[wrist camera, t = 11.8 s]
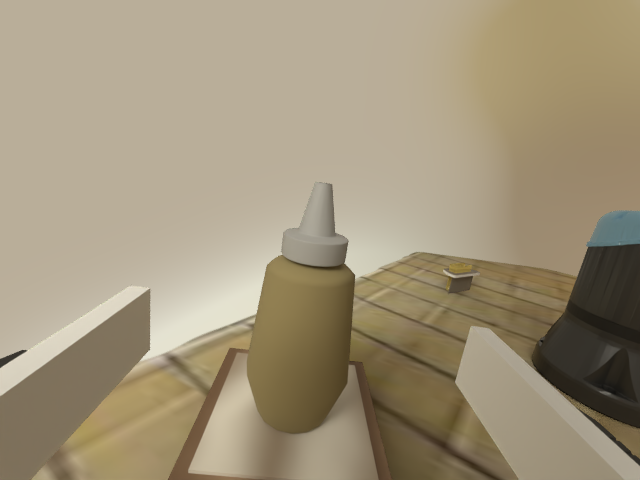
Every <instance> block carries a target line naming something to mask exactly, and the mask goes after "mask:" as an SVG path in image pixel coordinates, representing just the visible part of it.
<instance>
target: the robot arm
mask: <svg viewBox="0 0 640 480" xmlns="http://www.w3.org/2000/svg"><path fill="white" fill-rule="evenodd" d="M586 246H588V249H587V252H586V255H585V258H584V260H583V263H582V266H581V269H580V271H579V274H578V277H577V279H576V282H575V285H574V287H573V290H572V293H571V296H570V299H569V301H568V304H567V307H566V309H565V312H564V313H563V315H562V316H561V317H560V318H559V319H558V320H557V321H556V322H555V324H554V325H553V326H552V327H551V328H550V330H549V331H548V332H547V334H546V335H545V336H544V337H542V338H541V339H540V340H539V341H538V342H537V344H536V347H535V350H534V353H533V355H532V360H533V363H534V365H535V366H536V368H537V369H538V370H539V371H540V373H541V374H542V375H543V376H544V377H546V378H547V379H548V380H549V381H550V382H551V383H553V384H554V385H555V386H557V387H558V388H559V389H561V390H562V391H564V392H565V393H567V394H568V395H570V396H571V397H573V398H575V399H576V400H578V401H580V402H582V403H583V404H585V405H587V406H589V407H591V408H593V409H595V410H597V411H599V412H601V413H603V414H605V415H608V416H610V417H612V418H614V419H617V420H619V421H622V422H624V423H627V424H630V425H633V426H636V427H639V428H640V211H613V212H610V213H607V214H605V215H604V216H602V217H601V218H600V219H599V221H598V223H597V226H596V228H595V230H594V232H593V235H592V237H591V239H590V241H589V242H587V245H586ZM149 350H150V288H144V287H136V286H129V287H128V288H126V289H125V290H123V291H121V292H120V293H118V294H117V295H115V296H113V297H112V298H110V299H109V300H107V301H106V302H104V303H102V304H101V305H99V306H98V307H96V308H94V309H93V310H91V311H90V312H88V313H87V314H85V315H84V316H82V317H80V318H79V319H77V320H75V321H74V322H72V323H71V324H69V325H68V326H66V327H64V328H63V329H61V330H60V331H58V332H56V333H55V334H53V335H52V336H50V337H49V338H47V339H45V340H44V341H42V342H41V343H39V344H37V345H36V346H34V347H33V348H31V349H30V350H28V351H27V350H21V351H19V352H16V353H14V354H12V355H9V356H6V357H4V358H2V359H0V480H31V479H32V478H33V477H34V475H35V474H36V473H37V472H38V471H39V470H40V469H41V468H42V467H43V466H44V465H45V463H46V462H47V461H48V460H49V459H50V458H51V457H52V456H53V455H54V454H55V452H56V451H57V450H58V449H59V448H60V447H61V446H62V445H63V444H64V443H65V442H66V440H67V439H68V438H69V437H70V436H71V435H72V434H73V433H74V432H75V431H76V430H77V428H78V427H79V426H80V425H81V424H82V423H83V422H84V421H85V420H86V419H87V418H88V416H89V415H90V414H91V413H92V412H93V411H94V410H95V409H96V408H97V407H98V406H99V404H100V403H101V402H102V401H103V400H104V399H105V398H106V397H107V396H108V395H109V394H110V392H111V391H112V390H113V389H114V388H115V387H116V386H117V385H118V384H119V383H120V382H121V380H122V379H123V378H124V377H125V376H126V375H127V374H128V373H129V372H130V371H131V370H132V368H133V367H134V366H135V365H136V364H137V363H138V362H139V361H140V360H141V358H142V357H143V356H144V355H145V354H146V353H147V352H148V351H149ZM455 383H456V385H457V386H458V388H459V389H460V391H461V392H462V394H463V395H464V397H465V398H466V400H467V401H468V403H469V405H470V406H471V408H472V409H473V411H474V412H475V414H476V415H477V417H478V418H479V420H480V421H481V423H482V424H483V426H484V427H485V429H486V430H487V432H488V433H489V435H490V436H491V438H492V439H493V441H494V443H495V444H496V446H497V447H498V449H499V450H500V452H501V453H502V455H503V456H504V458H505V459H506V461H507V462H508V464H509V465H510V467H511V468H512V470H513V471H514V473H515V474H516V476H517V477H518V479H519V480H640V459H639V458H638V457H637V456H635V455H632V454H631V451H630V450H629V449H628V448H626V447H625V446H624V445H623V444H622V443H621V442H620V441H616V438H615V437H614V436H613V435H612V434H611V433H610V432H608V431H607V430H606V429H605V428H604V427H603V426H602V425H601V424H600V423H598V422H597V421H596V420H594V419H593V418H591V417H590V416H588V415H587V414H585V413H584V412H582V411H581V410H579V409H578V408H576V407H574V406H573V405H572V404H571V403H570V402H569V401H568V400H567V399H566V398H565V397H564V396H562V395H561V394H560V393H559V392H558V391H557V390H556V389H555V388H554V387H553V386H551V385H550V384H549V383H548V382H547V381H546V380H545V379H544V378H543V377H542V376H541V375H539V374H538V373H537V372H536V371H535V370H534V369H533V368H532V367H531V366H530V365H528V364H527V363H526V362H525V361H524V360H523V359H522V358H521V357H520V356H519V355H518V354H516V353H515V352H514V351H513V350H512V349H511V348H510V347H509V346H508V345H507V344H505V343H504V342H503V341H502V340H501V339H500V338H499V337H498V336H497V335H496V334H495V333H493V332H492V331H491V330H490V329H489V328H484V327H475V326H471V327H470V331H469V335H468V338H467V342H466V345H465V349H464V353H463V356H462V360H461V363H460V367H459V370H458V374H457V378H456V381H455Z"/></svg>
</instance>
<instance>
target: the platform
mask: <svg viewBox="0 0 640 480" xmlns="http://www.w3.org/2000/svg"><path fill="white" fill-rule="evenodd" d="M471 267H472V265H468V266H465V263H456V264H450V268H448V269H444V270H443V272H444V273H445V274H447V275H448V276H449V278H448V282H447V286H446V290H449V291H448V293H455V292H460V291H466V290H469V289H470V285H471V282H472V278H473V276H475V275H479V274H480V272H478V271H475V270H471ZM448 286H449V287H448Z"/></svg>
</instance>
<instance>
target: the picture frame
mask: <svg viewBox="0 0 640 480" xmlns="http://www.w3.org/2000/svg"><path fill="white" fill-rule="evenodd" d="M248 353H249V350H245V349H236V348H230V349H229V351H228V353H227V355H226V357H225V359H224V361H223V364H222V366H221V368H220V370H219V372H218V374H217V376H216V378H215V381H214V383H213V385H212V387H211V389H210V391H209V393H208V395H207V398H206V400H205V402H204V404H203V406H202V408H201V410H200V412H199V415H198V417H197V419H196V421H195V423H194V425H193V427H192V429H191V432H190V434H189V436H188V438H187V440H186V442H185V444H184V446H183V449H182V451H181V453H180V455H179V457H178V459H177V461H176V463H175V466H174V468H173V470H172V472H171V474H170V476H169V478H168V480H392V478H391V474H390V470H389V466H388V462H387V458H386V454H385V450H384V446H383V442H382V438H381V434H380V430H379V427H378V423H377V419H376V415H375V411H374V407H373V403H372V399H371V395H370V391H369V387H368V383H367V379H366V375H365V371H364V367H363V363H362V362H355V361H349V369H348V382H347V385H346V387H345V388H344V390H343V391H342V393H341V395H340V396H339V398H338V399H337V401H336V403H335V404H334V406H333V407H332V409H331V411H330V412H329V414H328V415H327V417H326V418H325V419H324V421H323V422H322V423H321V425H320V426H318V427H316V428H314V429H312V430H310V431H308V432H304V433H294V434H291V433H287V432H282V431H278V430H276V429H274V428H273V427H271V426H270V425H268V424H267V423H265V422H264V421H263V419H262V417H261V416H260V414H259V412H258V411H257V407H256V404H255V401H254V397H253V394H252V391H251V387H250V384H249V381H248V377H247V357H248Z"/></svg>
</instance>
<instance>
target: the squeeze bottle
mask: <svg viewBox="0 0 640 480" xmlns="http://www.w3.org/2000/svg"><path fill="white" fill-rule="evenodd" d="M347 246H348V239H347V238H345V237H344V236H342V235H339V234H337V233H335V222H334V207H333V190H332V184H327V183H321V182H315V184H314V187H313V190H312V193H311V196H310V198H309V201H308V204H307V207H306V210H305V213H304V215H303V218H302V221H301V224H300V227H299V228H292V229H287V230H286V231H285V232H284V233H283V242H282V254H283V255H281V256H278V257H277V258H275V259H274V260H272V261H271V262H270V263H269V264H268V265H267V267H266V272H265V277H264V282H263V287H262V292H261V296H260V301H259V305H258V310H257V315H256V319H255V324H254V329H253V334H252V338H251V343H250V348H249V353H248V357H247V377H248V381H249V384H250V387H251V391H252V394H253V397H254V401H255V404H256V407H257V411H258V412H259V414H260V416H261V417H262V419H263V421H264V422H265V423H267V424H268V425H270V426H271V427H273V428H274V429H276V430H278V431H282V432H287V433H291V434H294V433H304V432H308V431H310V430H312V429H314V428H316V427H318V426H320V425H321V423H322V422H323V421H324V419H325V418H326V417H327V415H328V414H329V412H330V411H331V409H332V407H333V406H334V404H335V403H336V401H337V399H338V398H339V396H340V395H341V393H342V391H343V390H344V388H345V387H346V385H347V382H348V369H349V355H350V341H351V327H352V313H353V299H354V284H355V274H354V273H353V272H352V271H351V270H350V269H349V268H348V267H347V266H346V265H345V264H344V262H345V258H346V252H347Z"/></svg>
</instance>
